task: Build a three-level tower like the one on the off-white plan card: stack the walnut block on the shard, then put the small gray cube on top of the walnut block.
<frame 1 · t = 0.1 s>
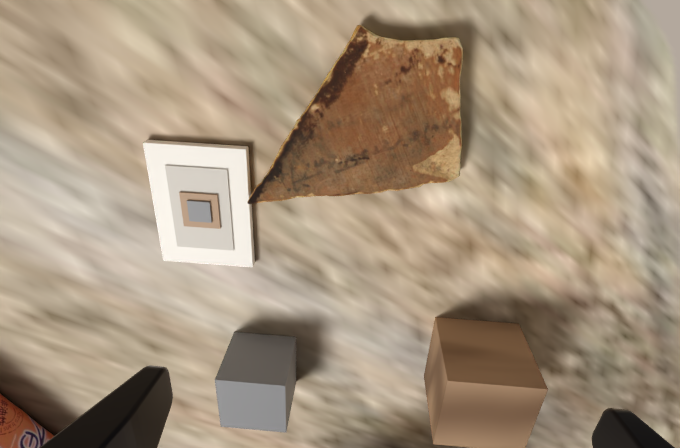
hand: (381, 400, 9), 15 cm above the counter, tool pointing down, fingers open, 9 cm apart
walnut block: (468, 350, 27), on the counter
gray cube: (266, 356, 29), on the counter
plan card: (204, 205, 24), on the counter
shard: (375, 143, 22), on the counter
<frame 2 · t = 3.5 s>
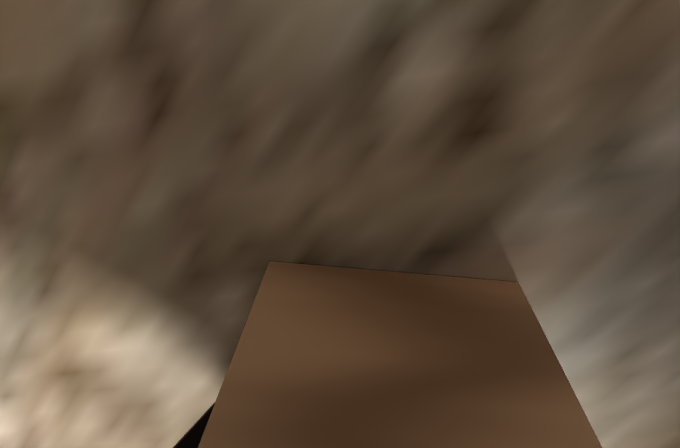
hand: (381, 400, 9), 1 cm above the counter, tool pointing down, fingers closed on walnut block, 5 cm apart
walnut block: (380, 362, 10), on the counter, touching gripper
when the fingers open (4 cm above the counter, at t = 8.4 s): walnut block drops 2 cm, resting on shard.
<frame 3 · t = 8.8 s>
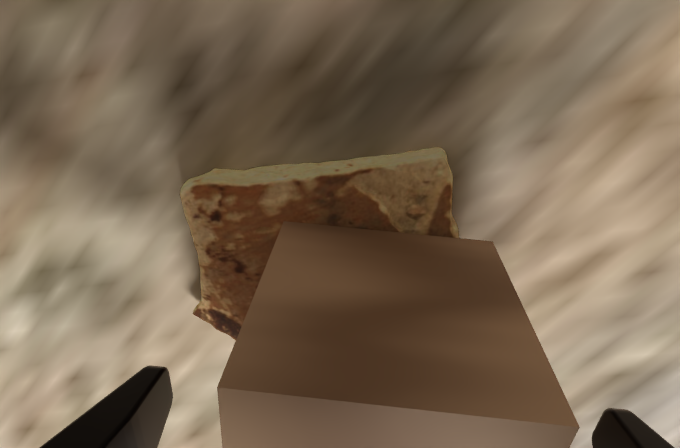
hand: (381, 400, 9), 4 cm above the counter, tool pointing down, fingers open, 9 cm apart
walnut block: (375, 312, 12), point 1 cm above the counter, touching shard
shard: (384, 267, 13), on the counter, touching walnut block
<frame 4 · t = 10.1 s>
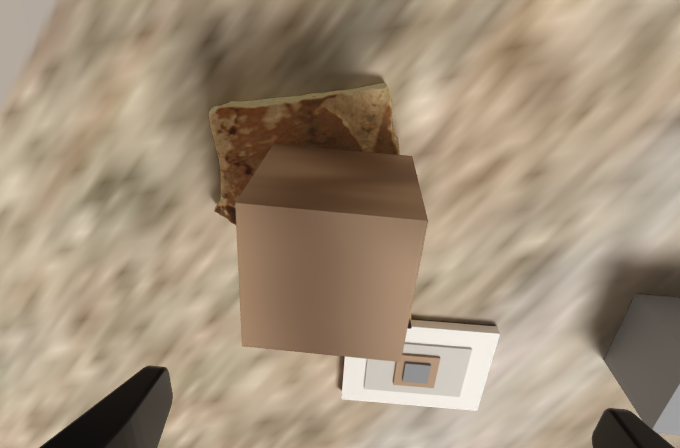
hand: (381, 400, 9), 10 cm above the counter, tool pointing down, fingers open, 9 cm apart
walnut block: (337, 211, 17), point 1 cm above the counter, touching shard
gray cube: (661, 331, 20), on the counter
plan card: (414, 360, 22), on the counter
shard: (352, 180, 18), on the counter, touching walnut block
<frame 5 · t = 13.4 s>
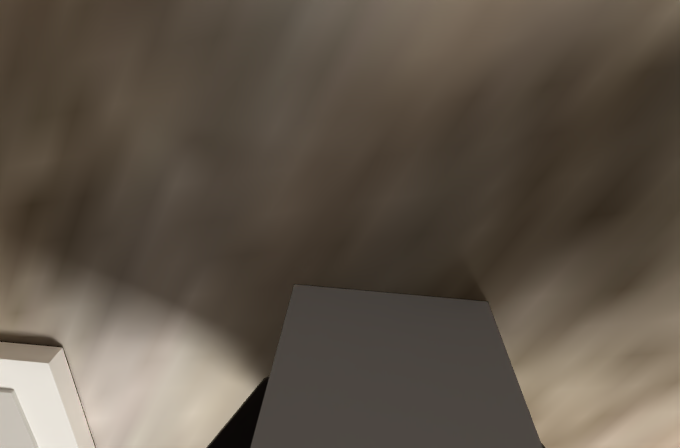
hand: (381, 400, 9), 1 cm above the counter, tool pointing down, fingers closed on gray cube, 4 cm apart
gray cube: (380, 363, 10), on the counter, touching gripper
when the fingers open (9 cm above the counter, at t = 17.2 s): gray cube drops 2 cm, resting on walnut block.
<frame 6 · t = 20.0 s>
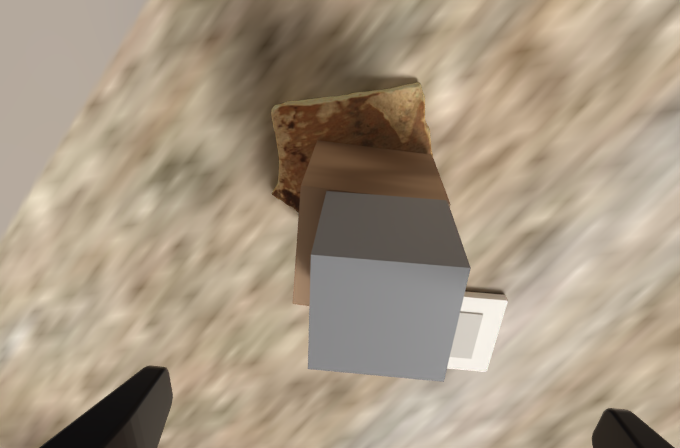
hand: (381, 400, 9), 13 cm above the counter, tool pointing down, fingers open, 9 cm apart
walnut block: (366, 199, 20), point 1 cm above the counter, touching shard, gray cube
gray cube: (380, 247, 15), point 6 cm above the counter, touching walnut block
plan card: (432, 326, 25), on the counter
shard: (388, 166, 21), on the counter, touching walnut block
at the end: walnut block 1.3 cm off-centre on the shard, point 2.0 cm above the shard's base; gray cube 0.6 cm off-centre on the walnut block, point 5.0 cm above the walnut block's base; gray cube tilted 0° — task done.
